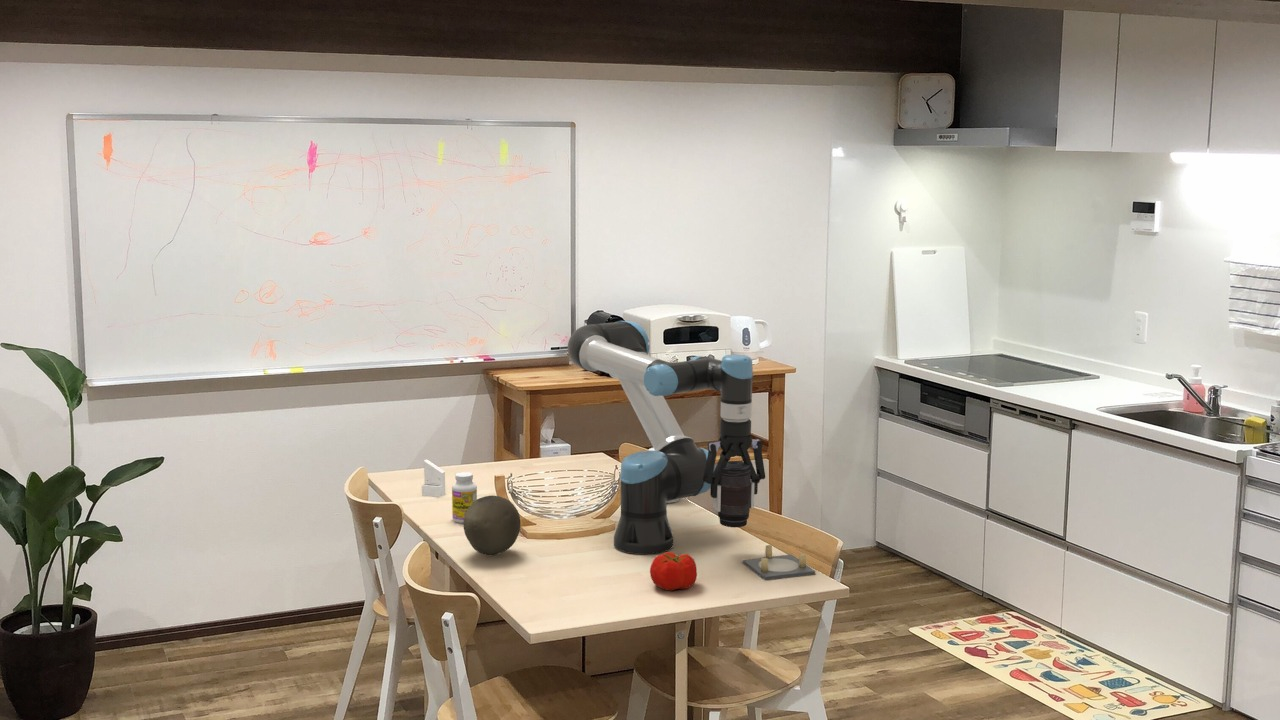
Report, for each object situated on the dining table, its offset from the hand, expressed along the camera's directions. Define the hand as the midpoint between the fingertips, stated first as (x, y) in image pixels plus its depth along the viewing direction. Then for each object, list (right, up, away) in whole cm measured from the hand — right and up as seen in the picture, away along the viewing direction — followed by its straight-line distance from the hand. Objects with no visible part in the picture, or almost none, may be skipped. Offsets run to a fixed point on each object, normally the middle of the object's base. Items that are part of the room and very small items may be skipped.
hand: (733, 508), depth 303 cm
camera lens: (0, -4, +1) cm, 4 cm away
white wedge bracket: (-83, -3, +55) cm, 100 cm away
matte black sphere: (-59, -12, +1) cm, 61 cm away
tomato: (-15, -16, -21) cm, 30 cm away
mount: (+10, -13, -9) cm, 19 cm away
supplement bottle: (-71, -7, +30) cm, 77 cm away
